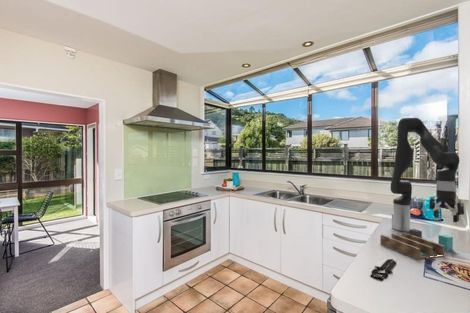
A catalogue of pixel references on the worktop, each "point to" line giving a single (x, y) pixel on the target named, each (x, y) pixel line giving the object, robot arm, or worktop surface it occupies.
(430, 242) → the wooden bookshelf
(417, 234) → the charcoal plug
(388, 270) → the black bumpy piece
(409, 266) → the worktop surface
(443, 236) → the teal plug
